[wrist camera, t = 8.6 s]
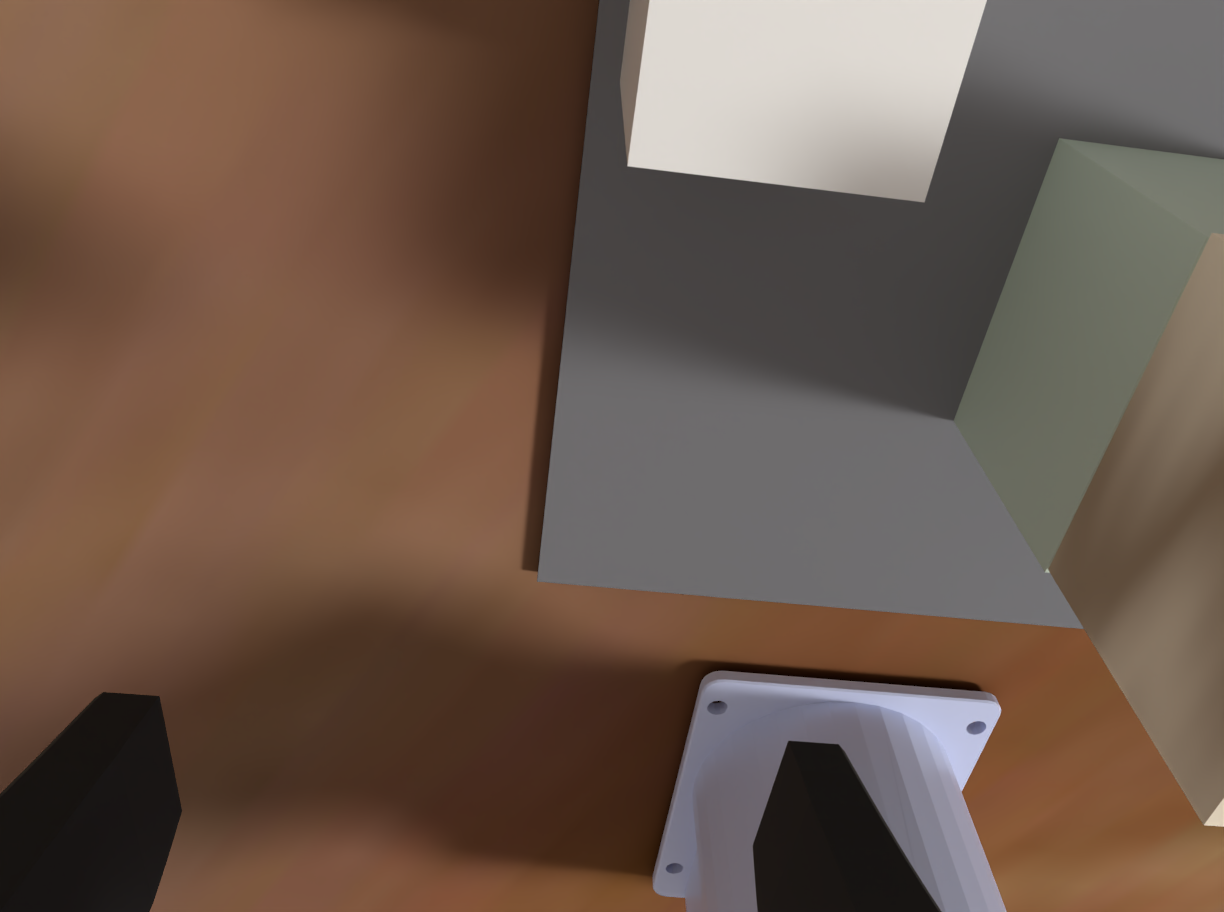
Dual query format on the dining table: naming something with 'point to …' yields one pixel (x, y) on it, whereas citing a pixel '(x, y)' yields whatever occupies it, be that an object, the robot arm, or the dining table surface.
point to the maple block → (1164, 544)
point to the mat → (834, 334)
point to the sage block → (1082, 321)
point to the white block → (796, 89)
